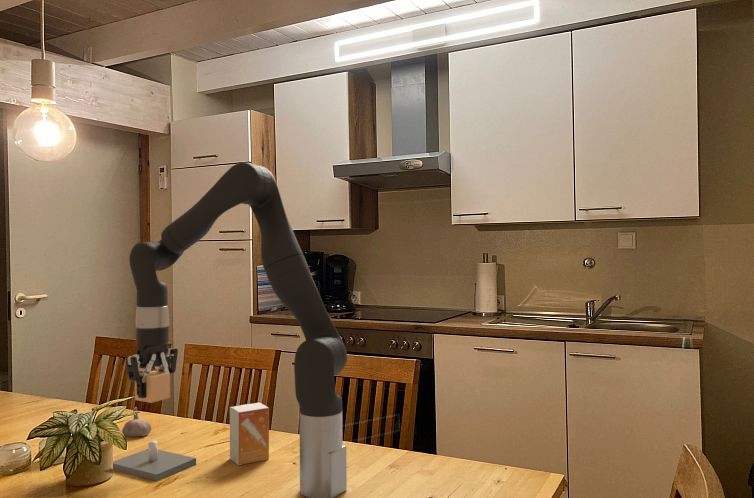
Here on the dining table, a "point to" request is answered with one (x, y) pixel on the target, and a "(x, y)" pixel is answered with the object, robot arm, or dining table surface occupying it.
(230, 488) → the dining table surface
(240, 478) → the dining table surface
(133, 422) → the garlic bulb
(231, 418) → the small box
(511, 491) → the dining table surface
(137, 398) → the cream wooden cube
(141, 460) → the flat gray peg block
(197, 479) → the dining table surface
